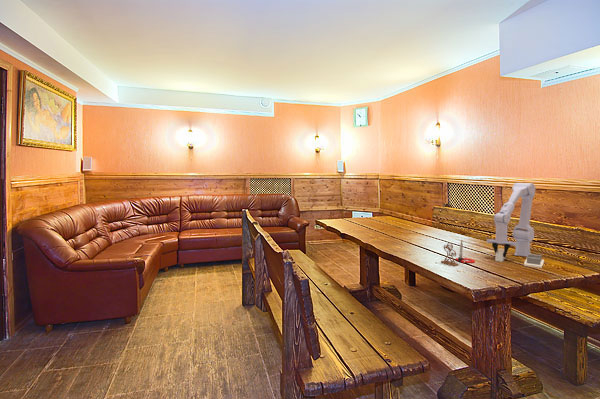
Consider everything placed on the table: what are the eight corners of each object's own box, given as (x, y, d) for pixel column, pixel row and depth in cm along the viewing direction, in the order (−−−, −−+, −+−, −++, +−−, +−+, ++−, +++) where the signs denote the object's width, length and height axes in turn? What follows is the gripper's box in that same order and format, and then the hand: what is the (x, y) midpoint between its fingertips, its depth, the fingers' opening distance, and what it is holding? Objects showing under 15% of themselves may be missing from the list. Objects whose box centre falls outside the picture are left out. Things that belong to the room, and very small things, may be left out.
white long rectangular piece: (498, 256, 197) (499, 248, 197) (505, 257, 195) (505, 249, 194) (495, 260, 188) (495, 252, 187) (502, 261, 186) (502, 253, 185)
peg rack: (526, 259, 190) (527, 252, 190) (543, 261, 185) (544, 254, 184) (523, 265, 178) (524, 258, 177) (542, 268, 173) (542, 260, 172)
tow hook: (467, 259, 194) (454, 260, 192) (468, 238, 193) (455, 238, 190) (478, 263, 186) (464, 264, 183) (479, 241, 185) (466, 241, 182)
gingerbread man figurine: (458, 265, 181) (459, 244, 180) (453, 266, 179) (454, 245, 178) (445, 261, 189) (445, 241, 188) (440, 262, 187) (440, 242, 186)
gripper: (485, 233, 192) (485, 256, 193) (515, 236, 182) (514, 259, 184) (488, 231, 197) (487, 253, 198) (516, 233, 188) (516, 257, 189)
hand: (500, 256), depth 191 cm, fingers closed on white long rectangular piece, 3 cm apart
